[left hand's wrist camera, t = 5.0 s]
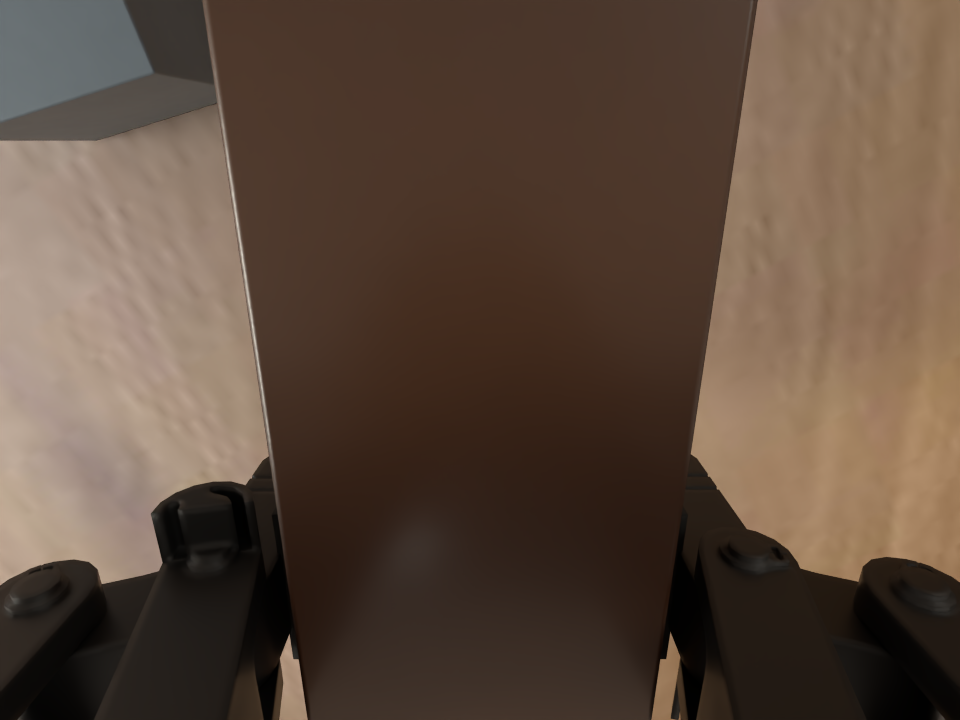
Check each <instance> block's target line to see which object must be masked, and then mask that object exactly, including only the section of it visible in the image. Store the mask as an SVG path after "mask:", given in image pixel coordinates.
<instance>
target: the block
mask: <svg viewBox="0 0 960 720" xmlns="http://www.w3.org/2000/svg"><path fill="white" fill-rule="evenodd" d="M215 103H217V97H216V91H215V84H214V77H213V70H212V63H211V56H210V50H209V43H208V36H207V29H206V22H205V16H204V9H203V2H202V0H0V140H100V139H103V138H106V137H109V136H113V135H116V134H119V133H122V132H125V131H129V130H132V129H135V128H138V127H142V126H145V125H148V124H151V123H154V122H158V121H161V120H164V119H167V118H170V117H174V116H177V115H180V114H183V113H187V112H190V111H193V110H196V109H199V108H203V107H206V106H209V105H212V104H215Z"/></svg>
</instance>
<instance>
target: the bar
mask: <svg viewBox="0 0 960 720" xmlns="http://www.w3.org/2000/svg"><path fill="white" fill-rule="evenodd" d="M757 1H758V0H202V2H203V9H204V16H205V22H206V29H207V36H208V43H209V50H210V56H211V63H212V70H213V77H214V84H215V91H216V97H217V104H218V111H219V118H220V125H221V132H222V138H223V145H224V152H225V159H226V166H227V172H228V179H229V186H230V193H231V200H232V207H233V213H234V220H235V227H236V234H237V241H238V247H239V254H240V261H241V268H242V275H243V282H244V288H245V295H246V302H247V309H248V316H249V323H250V329H251V336H252V343H253V350H254V357H255V363H256V370H257V377H258V384H259V391H260V398H261V404H262V411H263V418H264V425H265V432H266V438H267V445H268V452H269V459H270V466H271V473H272V479H273V486H274V493H275V500H276V507H277V514H278V520H279V527H280V534H281V541H282V548H283V554H284V561H285V568H286V575H287V582H288V589H289V595H290V602H291V609H292V616H293V623H294V629H295V636H296V643H297V650H298V657H299V664H300V670H301V677H302V684H303V691H304V698H305V705H306V711H307V718H308V720H651V718H652V712H653V705H654V698H655V691H656V684H657V678H658V671H659V664H660V657H661V651H662V644H663V637H664V630H665V624H666V617H667V610H668V603H669V597H670V590H671V583H672V576H673V570H674V563H675V556H676V549H677V542H678V536H679V529H680V522H681V515H682V509H683V502H684V495H685V488H686V482H687V475H688V468H689V461H690V455H691V448H692V441H693V434H694V427H695V421H696V414H697V407H698V400H699V394H700V387H701V380H702V373H703V367H704V360H705V353H706V346H707V340H708V333H709V326H710V319H711V312H712V306H713V299H714V292H715V285H716V279H717V272H718V265H719V258H720V252H721V245H722V238H723V231H724V225H725V218H726V211H727V204H728V198H729V191H730V184H731V177H732V170H733V164H734V157H735V150H736V143H737V137H738V130H739V123H740V116H741V110H742V103H743V96H744V89H745V83H746V76H747V69H748V62H749V55H750V49H751V42H752V35H753V28H754V22H755V15H756V8H757Z"/></svg>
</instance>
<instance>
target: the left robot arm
mask: <svg viewBox="0 0 960 720" xmlns="http://www.w3.org/2000/svg"><path fill="white" fill-rule="evenodd" d="M716 487H717V486H716V485H715V484H714V482H713V481H712V479H711V478H710V477H708V474H707V472H706V471H705V469H704V468H703V467H702V465H701V464H700V462H699V461H698V459H697V458H695V457H694V456H692V455H690V461H689V468H688V475H687V482H686V488H685V495H684V502H683V509H682V515H681V522H680V529H679V536H678V542H677V549H676V556H675V563H674V570H673V576H672V583H671V590H670V597H669V603H668V610H667V617H666V624H665V630H664V637H663V644H662V651H661V657H660V659H666V657H667V650H668V643H669V637H670V632H671V634H672V637H673V639H674V642H675V644H676V647H677V649H678V652H679V654H680V663H679V669H678V675H677V682H676V688H675V694H674V700H673V706H672V713H671V719H676V720H678V719H679V714H680V715H681V720H960V582H958V581H957V580H955V579H954V578H953V577H951V576H949V575H947V574H945V573H943V572H941V571H938V570H936V569H934V568H933V567H931V566H928V565H925V564H922V563H917V562H916V561H911V560H907V559H900V558H891V557H884V558H878V559H872V560H870V561H869V562H868V563H867V564H866V565H864V566H863V568H862V572H861V575H860V578H859V582H856V581H852V580H847V579H842V578H837V577H833V576H828V575H823V574H819V573H814V572H811V571H807V570H804V569H800V567H799V565H798V563H797V561H796V560H795V558H794V557H793V556H792V554H791V553H790V552H789V550H788V549H786V548H785V547H784V546H782V545H781V544H779V543H778V542H777V541H775V540H774V539H772V538H770V537H767V536H765V535H763V534H761V533H759V532H756V531H752V530H748V529H746V527H745V526H744V525H743V523H742V522H741V520H740V519H739V518H738V516H737V515H736V513H735V512H734V510H733V509H732V508H731V506H730V505H729V503H728V502H727V501H726V499H725V498H724V496H723V495H722V493H721V492H720V491H719V490H717V488H716ZM151 516H152V520H153V524H154V528H155V533H156V537H157V541H158V545H159V549H160V553H161V558H162V562H163V564H162V566H161V568H160V570H159V571H158V572H154V573H151V574H147V575H143V576H139V577H134V578H129V579H125V580H120V581H115V582H111V583H106V584H101V580H100V577H99V573H98V570H97V569H96V568H95V567H94V566H93V565H92V564H91V563H89V562H85V561H79V560H66V561H57V562H52V563H47V564H44V565H42V566H41V565H40V566H37V567H34V568H31V569H29V570H27V571H25V572H23V573H21V574H19V575H17V576H15V577H13V578H11V579H9V580H7V581H6V582H5V583H3V584H2V585H0V720H279V716H280V707H281V699H282V690H283V677H282V669H281V663H280V656H281V654H282V651H283V649H284V646H285V644H286V641H287V639H288V636H289V633H290V639H291V646H292V652H293V659H299V657H298V650H297V643H296V636H295V629H294V623H293V616H292V609H291V602H290V595H289V589H288V582H287V575H286V568H285V561H284V554H283V548H282V541H281V534H280V527H279V520H278V514H277V507H276V500H275V493H274V486H273V479H272V473H271V466H270V459H269V457H267V458H266V459H264V460H263V461H262V463H261V464H260V465H259V467H258V468H257V470H256V471H255V473H254V474H253V475H252V479H250V480H249V481H248V483H247V484H246V485H243V484H239V483H235V482H210V483H205V484H200V485H195V486H192V487H190V488H187V489H184V490H182V491H179V492H177V493H175V494H173V495H172V496H170V497H169V498H167V499H165V500H164V501H162V502H161V503H160V504H159V505H158V506H157V507H156V508H155V510H154V511H153V512H152V513H151Z"/></svg>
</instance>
